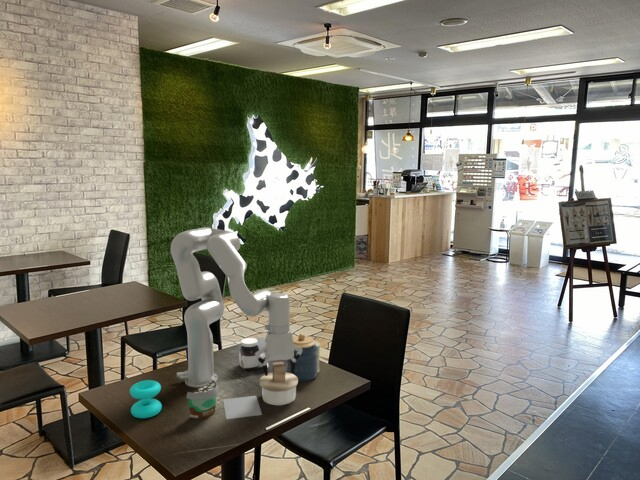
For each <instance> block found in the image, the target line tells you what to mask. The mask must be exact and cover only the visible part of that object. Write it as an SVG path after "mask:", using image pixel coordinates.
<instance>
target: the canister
mask: <svg viewBox="0 0 640 480" xmlns="http://www.w3.org/2000/svg"><path fill="white" fill-rule="evenodd" d="M315 341H316V340H315V339H313V338H312V337H310V336H307V335H305V334H304V333H300V334H299V335H296V336H293V345H295V346H297V347H299V348H302V350H303V351H302V353H301V355H300V357H299V358H298V359H297V360H296V362H295V370H294V373H292V372H291V370H290V360H291V359H288V360H285V372H288V373H291V374H294V375H295V376H296V377H297V378H298V383H299V382H302V383H303V382H308V381H312V380H314V379H315V378H316V377H317V376H318V375H317V374H318V373H317V353H316V351H317V349H318V347H317V346H316V345H315V343H316V342H315ZM297 352H298V351H296V350H294V355H295V354H296V353H297Z"/></svg>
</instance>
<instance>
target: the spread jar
mask: <svg viewBox="0 0 640 480" xmlns="http://www.w3.org/2000/svg"><path fill="white" fill-rule="evenodd" d="M259 350H260V348H259V346H258V339H256V338H254V337H247V338H243V339H241V341H240V346H239V348H238V356H239V358H238V359H239V360H238V361H239V366H240V369H242V370H244V371H254V370H256V369H258V368H260V366H262V367H263V364H262V363H260V362H259V361H258V359H257V357H256V355H255V353H256V352H257V351H259ZM260 357H261V358H262V359H263V358H264V357H265V352H264V353H263V354H261V355H260ZM267 366H268V367H269V362H268V363H267Z"/></svg>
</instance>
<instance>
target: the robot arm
mask: <svg viewBox="0 0 640 480" xmlns="http://www.w3.org/2000/svg"><path fill="white" fill-rule="evenodd" d="M240 248H241V240H240V238H239V236H238V235H237V234H236V233H234V232H232V231H229V230H223V229H218V228H213V227H205V226H204V227H198V228H194V229H193V228H192V229H187V230H185V231H182V232H179V233H178V234H177V235H175V236H174V238H173V239H172V241H171V245H170V254H171V257H172V260H173V262H174V264H175V265H174V266H175V269H176V273H177V277H178V282H179V287H180V289H181V293H182V296H183V298H184V299H185V300H187V301H191V302H192V301H197V300H199V299H201V301H198V302H196V303H193V304H191V305H190V306H189V307H188V308H187V309H186V310H185V312H184V318H183V319H184V324H185V328H186V329H185V330H186V332H187V333H186V335H187V358H188V359H187V360H188V361H187V362H188V363H187V364H188V366H187V367H188V368H187V370H185V371H181V372H176V378H178V379H179V380H184V384H185V385H186V386H187V387H190V388H195V389H198V388H200V387H201V386H204V385H207V384H209V383H211V382H212V380H214V381H216V383H218V382H217V381H218V380H219V377H218V374H216V373H215V372H214V371H215V370H214V367H215V365H214V338H213V337H214V336H213V333H212V330H211V328H210V325H211V324H212V323H214V322H217V321H218V320H220V319H221V318H222V317H223V316H224V313H225V306H224V305H225V304H224V300H223V296H222V292H221V287H220V284H219V280H218V278H217V277H216V276H215V274H213V272H210V271H207V270H206V271H201V268H200V264H199V261H198V259H197V258H196V256H194V254H193V253H195V252H200V251H205V250H207V252H208V253H209V254H210V255H211V257H212V258H213V260H214V261H215V263H216V264H217V266H219V268H220V269H221V271H222V272H223V273H224V275H225V276H226V277H227V282H228V288H229V293H230V295H231V296H230V297H231V299H232V300H233V301H234V303H235V304H236V306H237V307H238V308H239V309H240V311H241V312H242V313H243V314H245V315H246V316H248V317H256V316H259V315H260V314H262V313H264V312H266V311H268V312H267V313H268V315H267V316H268V323H267V325H265V326H264V330H267V331H266V334H265V340H264V347H263V348H261V349H259V351H257V352H256V353H255V355H256V357H257V359H258V361H259V362H260V364H261V365H262V364H263V366H262V373H263V374H264V375H265V376H267V375H268V373H269V372H268V368H269V365H268V366H267V363H268V364H269V363H270V362H279V361H286V360H288V359H291V360H290V370H291V372H292V373H294V370H295V362H296V360H297V359H298V358H299V357H300V355H301V353H302V351H303V350H302V348H299V347H297V346H295V345H293V337H294V336H293V331H292V330H291V329H290V326H291V325H290V323H291V322H290V319H291V318H290V316H291V315H290V308H291V305H290V304H291V303H290V296H289V295H288V294H287V293H282V292H278V293H277V292H273V291H272V290H271V291H270V290H268V289H260V290H258V291H255V292H253V293H252V292H251V291H250V289H249V288H248V287H247V285H246V283H245V272H246V270H247V266H248V265H247V262H246V261H245V260H244V258H243V257H242V255H240V253H239V252H238V250H240ZM294 350H296V351H298V352H297V353H296V354H295V355H294ZM263 353H265V357H264V358H263V359H262V358H261V357H260V355H261V354H263Z"/></svg>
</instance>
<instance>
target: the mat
mask: <svg viewBox="0 0 640 480" xmlns="http://www.w3.org/2000/svg"><path fill="white" fill-rule="evenodd" d="M222 401H223V408H224V413H225V415H224V416H225V419H226V420H233V419H239V418H247V417H255V416H262V415H263V414H262V410H261V407H260V404H259V400H258V397H257V395H252V396H251V395H249V396H240V397H232V398H231V397H230V398H227V399H226V398H224V399H222Z"/></svg>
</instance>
